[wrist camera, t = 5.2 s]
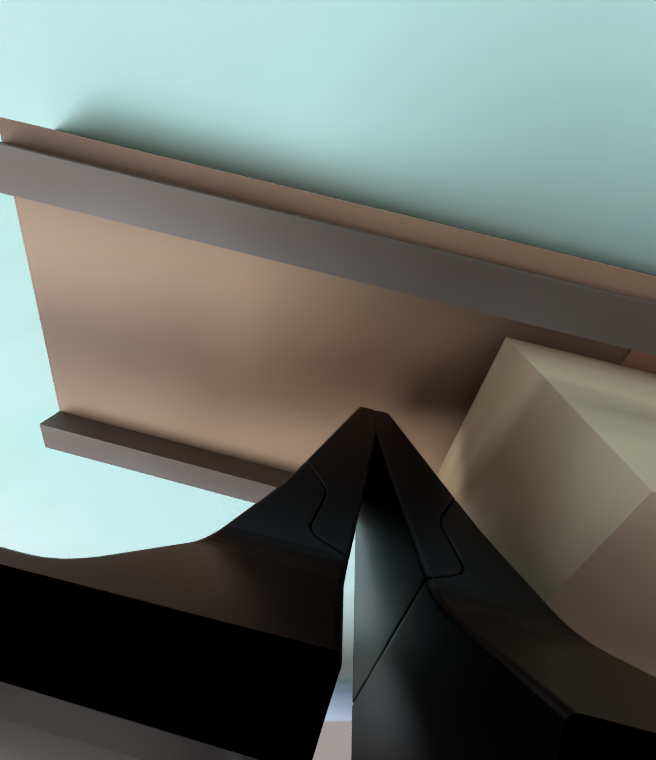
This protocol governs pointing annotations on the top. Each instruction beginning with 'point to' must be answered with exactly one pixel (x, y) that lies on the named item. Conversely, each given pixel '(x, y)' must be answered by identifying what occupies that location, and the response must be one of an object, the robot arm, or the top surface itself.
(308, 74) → the top surface
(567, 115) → the top surface
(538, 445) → the slider block
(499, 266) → the slider track
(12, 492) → the top surface
